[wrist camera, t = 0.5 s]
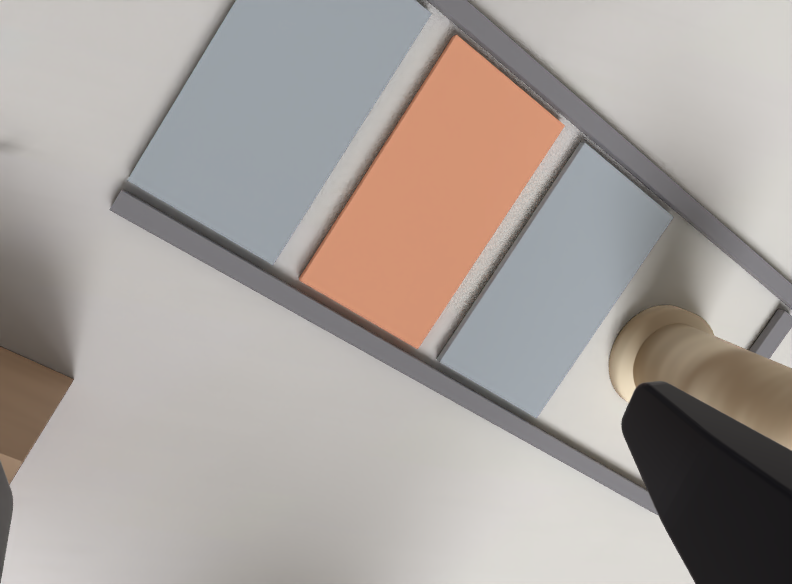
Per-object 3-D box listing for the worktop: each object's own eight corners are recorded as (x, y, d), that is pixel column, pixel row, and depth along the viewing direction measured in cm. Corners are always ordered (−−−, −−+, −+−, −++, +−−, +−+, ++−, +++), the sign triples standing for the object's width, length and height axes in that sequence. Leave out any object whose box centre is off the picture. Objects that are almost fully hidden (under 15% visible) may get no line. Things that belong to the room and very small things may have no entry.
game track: (653, 510, 32) (658, 515, 31) (111, 208, 21) (109, 209, 21) (803, 298, 31) (810, 300, 30) (314, -127, 20) (315, -133, 20)
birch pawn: (659, 422, 30) (811, 525, 22) (588, 377, 28) (727, 471, 21) (719, 336, 30) (895, 410, 22) (651, 285, 28) (817, 345, 20)
